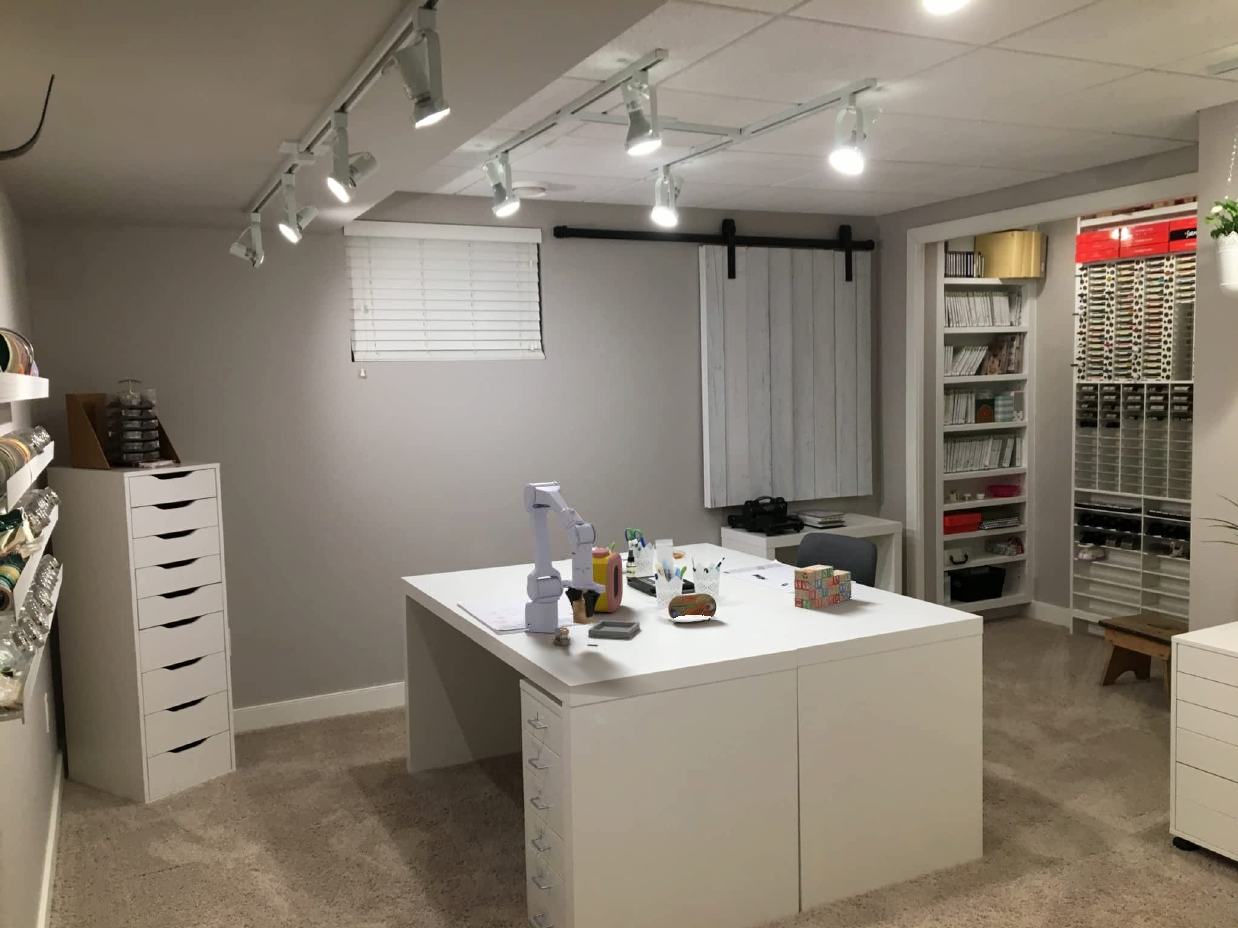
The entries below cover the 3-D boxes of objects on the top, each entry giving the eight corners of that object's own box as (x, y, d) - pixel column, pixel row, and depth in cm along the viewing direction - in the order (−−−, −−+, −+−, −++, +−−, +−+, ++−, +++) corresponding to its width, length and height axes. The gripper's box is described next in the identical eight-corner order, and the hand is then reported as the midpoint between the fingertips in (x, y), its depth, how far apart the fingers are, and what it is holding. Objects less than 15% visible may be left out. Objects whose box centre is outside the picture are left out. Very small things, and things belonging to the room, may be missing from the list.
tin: (670, 624, 305) (670, 596, 304) (667, 622, 308) (666, 594, 307) (717, 620, 309) (716, 593, 308) (713, 617, 312) (712, 591, 311)
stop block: (573, 622, 280) (572, 601, 279) (582, 619, 283) (581, 598, 283) (584, 624, 278) (584, 603, 277) (593, 621, 281) (593, 600, 280)
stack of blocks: (836, 596, 339) (836, 560, 338) (851, 599, 334) (851, 562, 333) (794, 606, 325) (794, 569, 324) (809, 609, 320) (809, 571, 319)
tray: (588, 636, 292) (588, 629, 291) (601, 626, 303) (601, 620, 303) (628, 638, 288) (628, 632, 288) (639, 628, 300) (639, 622, 299)
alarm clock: (612, 616, 316) (611, 555, 314) (578, 615, 318) (576, 554, 317) (624, 603, 334) (622, 545, 332) (591, 602, 336) (590, 545, 335)
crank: (554, 637, 286) (553, 623, 285) (566, 636, 287) (566, 622, 286) (559, 645, 277) (559, 631, 276) (572, 644, 277) (572, 630, 277)
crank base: (550, 645, 283) (549, 641, 283) (556, 640, 288) (556, 636, 288) (594, 647, 279) (594, 643, 279) (599, 643, 284) (599, 639, 284)
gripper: (553, 567, 280) (554, 615, 282) (593, 572, 272) (594, 622, 273) (569, 563, 286) (570, 610, 287) (609, 568, 277) (610, 616, 278)
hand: (583, 615), depth 280 cm, fingers closed on stop block, 4 cm apart
